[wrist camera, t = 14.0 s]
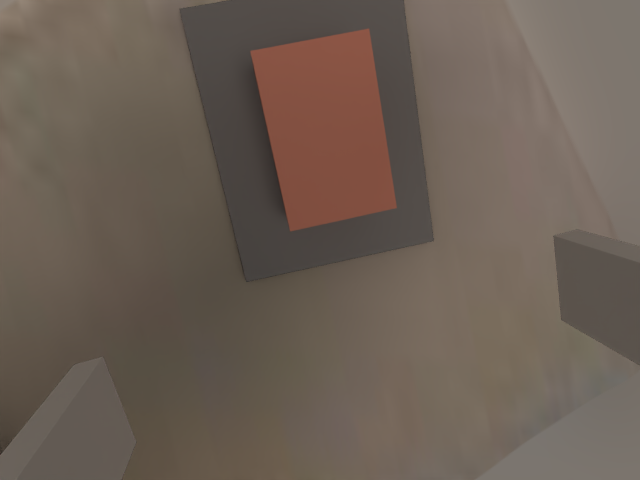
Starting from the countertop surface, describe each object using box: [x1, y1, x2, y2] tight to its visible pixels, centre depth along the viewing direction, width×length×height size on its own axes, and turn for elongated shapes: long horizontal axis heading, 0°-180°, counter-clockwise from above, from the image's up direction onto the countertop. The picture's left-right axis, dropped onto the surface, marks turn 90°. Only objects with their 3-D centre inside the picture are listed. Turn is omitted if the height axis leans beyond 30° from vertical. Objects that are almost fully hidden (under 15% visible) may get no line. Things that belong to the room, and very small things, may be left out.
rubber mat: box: [180, 0, 434, 282], centre depth 30 cm, size 14×18×1 cm
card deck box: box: [250, 29, 397, 231], centre depth 27 cm, size 10×6×5 cm, turn 11°
